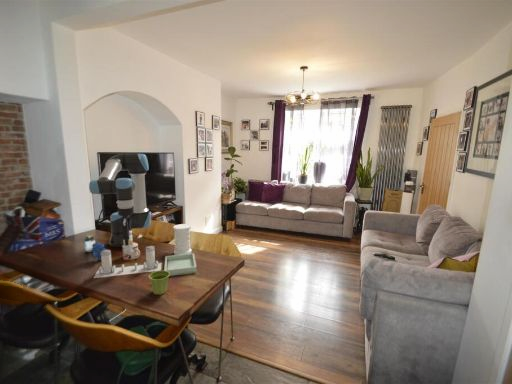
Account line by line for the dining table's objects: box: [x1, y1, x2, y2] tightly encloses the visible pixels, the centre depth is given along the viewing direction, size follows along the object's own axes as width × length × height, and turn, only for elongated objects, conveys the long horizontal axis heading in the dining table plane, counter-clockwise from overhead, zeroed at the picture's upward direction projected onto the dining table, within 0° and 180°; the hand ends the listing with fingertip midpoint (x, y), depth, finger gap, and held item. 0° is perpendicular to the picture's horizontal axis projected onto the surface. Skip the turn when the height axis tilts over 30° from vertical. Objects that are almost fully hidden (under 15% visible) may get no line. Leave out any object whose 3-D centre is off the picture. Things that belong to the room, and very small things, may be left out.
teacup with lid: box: [121, 242, 141, 261], centre depth 158 cm, size 12×9×12 cm
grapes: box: [91, 241, 108, 261], centre depth 154 cm, size 12×7×12 cm, turn 71°
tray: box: [163, 252, 198, 277], centre depth 150 cm, size 20×17×3 cm
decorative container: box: [173, 223, 193, 255], centre depth 170 cm, size 12×12×18 cm
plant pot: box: [148, 270, 170, 295], centre depth 123 cm, size 9×9×9 cm
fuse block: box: [93, 245, 163, 279], centre depth 141 cm, size 10×33×14 cm, turn 107°
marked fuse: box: [123, 229, 134, 254], centre depth 140 cm, size 5×5×12 cm
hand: (128, 248), depth 140 cm, fingers closed on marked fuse, 5 cm apart
